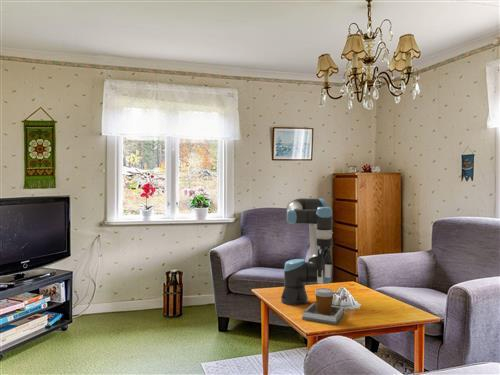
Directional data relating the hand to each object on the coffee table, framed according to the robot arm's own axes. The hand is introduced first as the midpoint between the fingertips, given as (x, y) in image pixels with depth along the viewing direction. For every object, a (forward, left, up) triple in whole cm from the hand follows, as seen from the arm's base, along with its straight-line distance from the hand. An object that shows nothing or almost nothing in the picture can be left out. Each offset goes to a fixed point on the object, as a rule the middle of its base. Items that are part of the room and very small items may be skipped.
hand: (323, 280), depth 202 cm
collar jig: (0, 0, -18) cm, 18 cm away
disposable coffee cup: (0, 0, -17) cm, 17 cm away
